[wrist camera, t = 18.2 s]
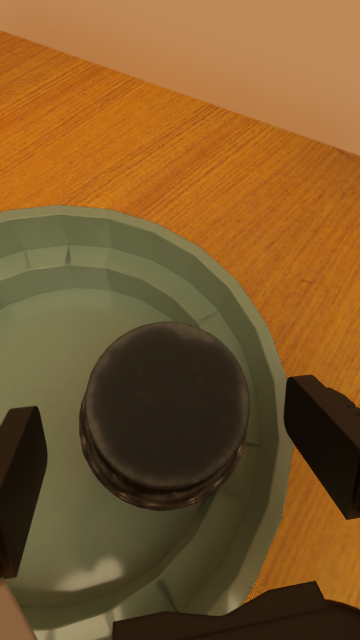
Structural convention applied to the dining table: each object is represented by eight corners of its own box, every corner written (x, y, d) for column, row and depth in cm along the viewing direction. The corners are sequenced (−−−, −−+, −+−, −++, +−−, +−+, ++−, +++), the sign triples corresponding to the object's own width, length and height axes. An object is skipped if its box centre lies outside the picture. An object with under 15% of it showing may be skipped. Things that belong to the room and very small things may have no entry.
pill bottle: (177, 368, 21) (205, 269, 12) (232, 459, 19) (323, 436, 10) (84, 419, 20) (22, 354, 10) (134, 525, 18) (120, 580, 8)
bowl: (203, 248, 26) (218, 187, 21) (307, 583, 18) (378, 627, 12) (-111, 290, 23) (-192, 230, 17) (-169, 741, 14) (-365, 902, 9)
